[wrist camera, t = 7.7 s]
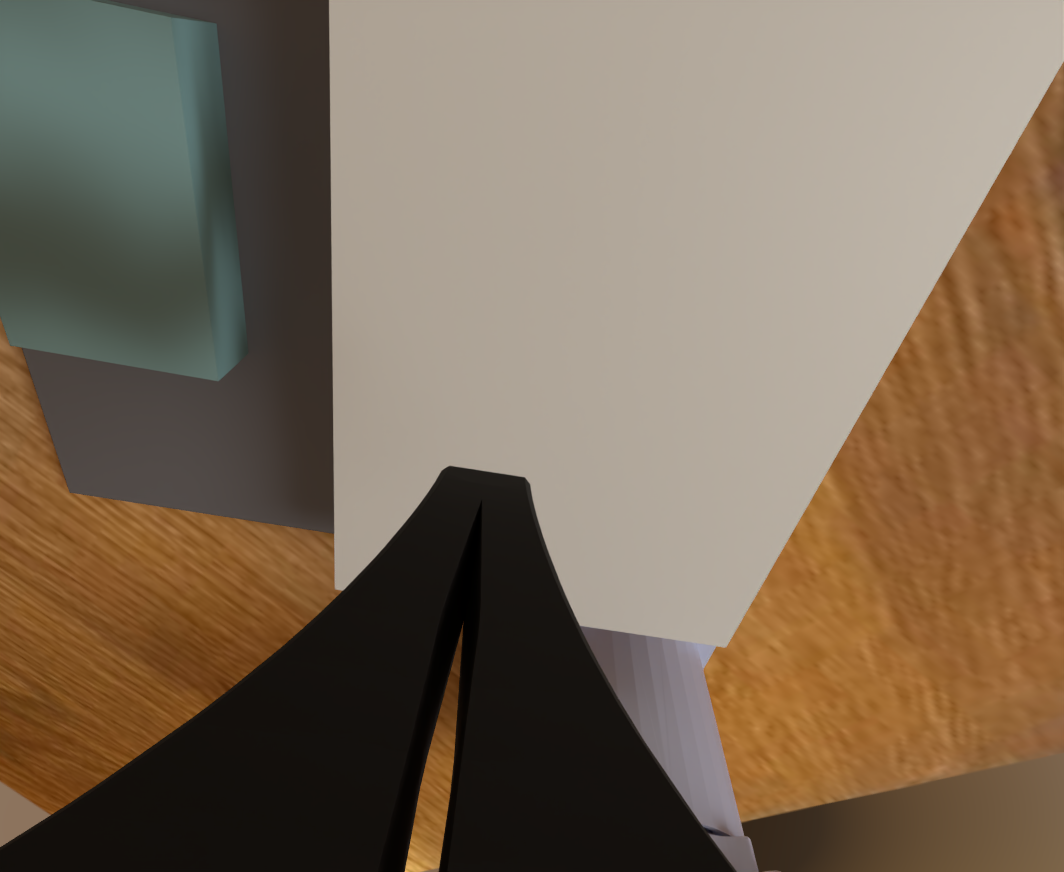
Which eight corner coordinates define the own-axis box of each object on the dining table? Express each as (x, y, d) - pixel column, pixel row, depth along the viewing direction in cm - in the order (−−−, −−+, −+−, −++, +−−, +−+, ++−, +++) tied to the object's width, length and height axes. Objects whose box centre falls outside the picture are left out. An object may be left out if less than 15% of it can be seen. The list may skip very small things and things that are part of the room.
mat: (354, 529, 23) (351, 536, 23) (76, 486, 23) (69, 492, 22) (366, -263, 12) (361, -273, 11) (-209, -406, 11) (-233, -422, 11)
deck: (702, 566, 24) (725, 647, 21) (367, 513, 23) (335, 589, 20) (1051, -160, 12) (1241, -248, 9) (393, -332, 11) (324, -503, 8)
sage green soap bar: (10, 345, 17) (59, 320, 18) (218, 381, 17) (248, 353, 19) (-124, -46, 12) (-40, -32, 14) (170, 17, 12) (216, 23, 14)
